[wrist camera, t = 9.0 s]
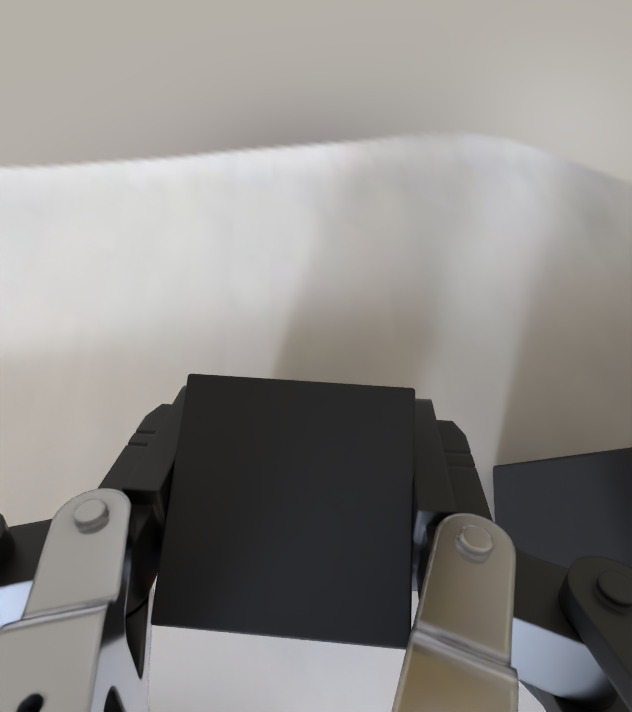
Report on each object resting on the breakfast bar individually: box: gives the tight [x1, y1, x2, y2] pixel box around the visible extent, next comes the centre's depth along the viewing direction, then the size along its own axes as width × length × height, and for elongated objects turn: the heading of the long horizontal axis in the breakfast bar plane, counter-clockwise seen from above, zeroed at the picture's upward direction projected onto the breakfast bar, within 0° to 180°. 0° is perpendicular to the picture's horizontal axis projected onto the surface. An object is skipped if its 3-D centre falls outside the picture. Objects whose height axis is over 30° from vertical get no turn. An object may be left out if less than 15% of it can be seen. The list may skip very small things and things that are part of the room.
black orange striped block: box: [150, 374, 415, 650], centre depth 12 cm, size 5×5×8 cm
